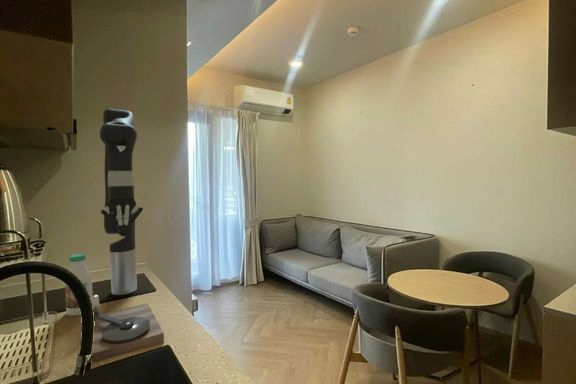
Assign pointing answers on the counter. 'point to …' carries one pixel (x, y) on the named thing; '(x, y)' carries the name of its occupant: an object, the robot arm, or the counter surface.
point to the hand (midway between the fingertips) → (123, 236)
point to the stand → (109, 350)
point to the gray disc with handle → (120, 325)
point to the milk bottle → (84, 275)
